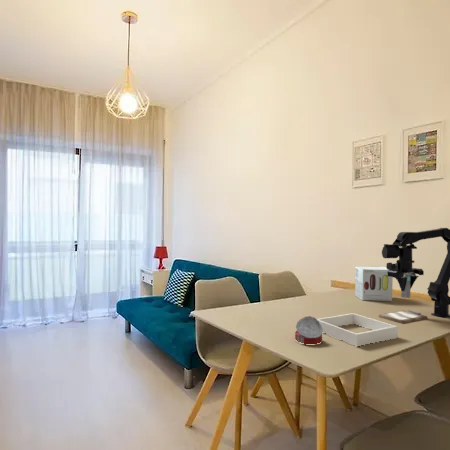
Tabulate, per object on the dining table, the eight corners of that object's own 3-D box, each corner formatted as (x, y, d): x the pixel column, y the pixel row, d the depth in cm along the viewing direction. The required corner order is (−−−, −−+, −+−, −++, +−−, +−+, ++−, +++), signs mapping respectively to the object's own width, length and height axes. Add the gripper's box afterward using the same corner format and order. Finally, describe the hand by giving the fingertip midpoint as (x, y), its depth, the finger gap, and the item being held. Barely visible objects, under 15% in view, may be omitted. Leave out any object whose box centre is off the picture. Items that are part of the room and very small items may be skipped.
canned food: (320, 352, 134) (333, 331, 132) (307, 356, 127) (321, 334, 124) (298, 332, 141) (309, 312, 139) (284, 335, 134) (296, 314, 131)
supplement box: (362, 300, 200) (362, 269, 200) (354, 295, 213) (354, 266, 213) (393, 301, 199) (393, 269, 199) (383, 296, 212) (383, 266, 212)
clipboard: (403, 312, 174) (403, 308, 174) (427, 318, 164) (427, 314, 164) (378, 316, 166) (378, 312, 166) (401, 323, 155) (401, 318, 155)
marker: (404, 295, 171) (404, 275, 171) (412, 297, 168) (412, 276, 168) (399, 296, 170) (399, 275, 170) (406, 298, 166) (406, 277, 166)
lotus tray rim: (353, 323, 156) (353, 313, 156) (397, 337, 136) (397, 326, 136) (314, 330, 146) (314, 319, 145) (356, 347, 126) (356, 334, 126)
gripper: (403, 255, 180) (403, 286, 180) (377, 257, 172) (378, 289, 172) (424, 257, 170) (424, 289, 170) (398, 259, 162) (398, 293, 162)
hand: (405, 290), depth 169 cm, fingers closed on marker, 4 cm apart
